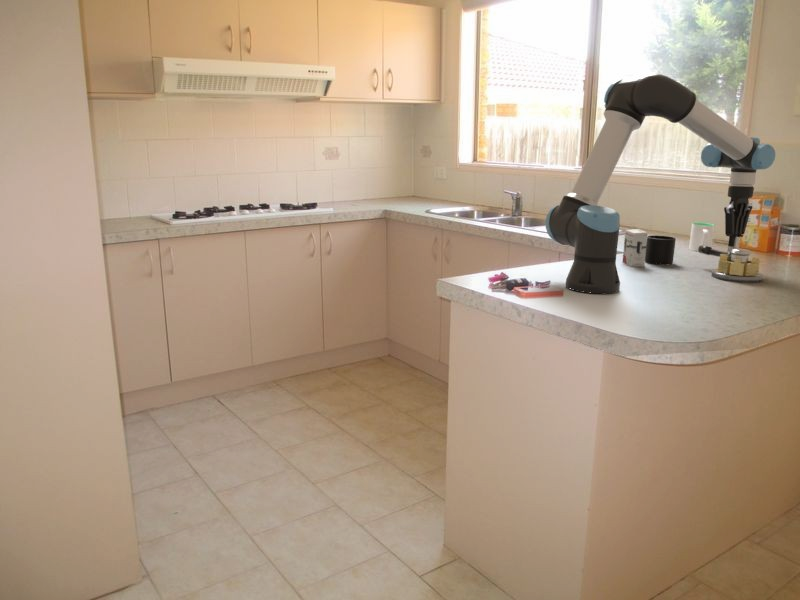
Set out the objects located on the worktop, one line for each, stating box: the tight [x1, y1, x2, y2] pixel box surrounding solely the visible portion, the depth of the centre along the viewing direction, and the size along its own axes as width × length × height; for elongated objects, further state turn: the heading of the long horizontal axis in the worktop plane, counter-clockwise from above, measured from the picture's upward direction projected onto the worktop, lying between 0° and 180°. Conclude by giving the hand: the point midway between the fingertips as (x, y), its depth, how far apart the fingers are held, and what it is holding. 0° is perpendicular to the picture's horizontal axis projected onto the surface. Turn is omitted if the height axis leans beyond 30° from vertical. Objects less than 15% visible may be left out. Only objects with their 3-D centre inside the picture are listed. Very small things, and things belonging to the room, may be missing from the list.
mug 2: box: [688, 222, 715, 253], centre depth 262 cm, size 12×8×10 cm
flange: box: [711, 248, 765, 284], centre depth 212 cm, size 15×15×9 cm
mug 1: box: [645, 234, 677, 266], centre depth 237 cm, size 9×12×9 cm
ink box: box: [622, 228, 648, 267], centre depth 231 cm, size 8×5×12 cm, turn 2°
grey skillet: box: [697, 245, 761, 276], centre depth 218 cm, size 11×24×6 cm, turn 13°
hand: (731, 255), depth 225 cm, fingers closed
